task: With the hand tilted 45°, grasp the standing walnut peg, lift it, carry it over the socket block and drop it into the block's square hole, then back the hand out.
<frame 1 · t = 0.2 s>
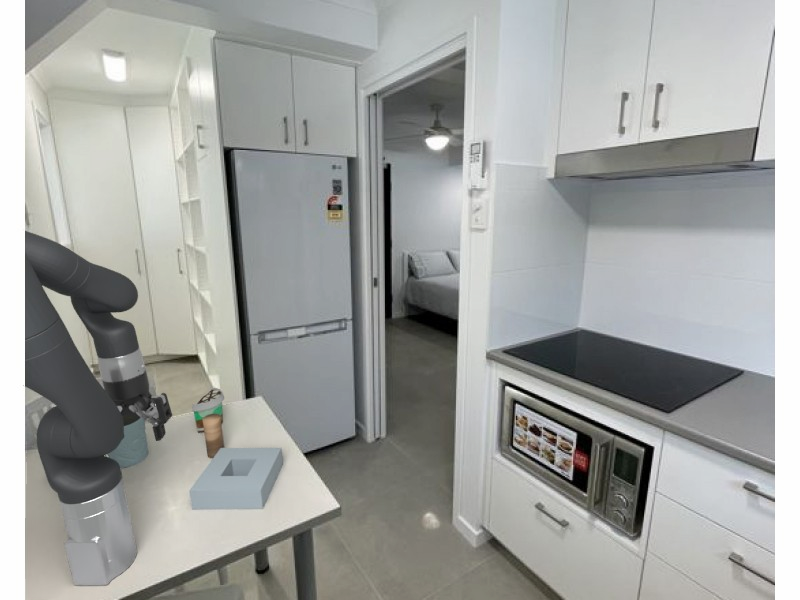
hand: (140, 439, 86), 18 cm above the table, tool pointing down, fingers open, 8 cm apart
peg: (216, 453, 111), on the table
teal plant pot: (129, 459, 109), on the table
socket block: (241, 485, 98), on the table
toothbrush head: (78, 493, 97), on the table
food container: (215, 425, 126), on the table
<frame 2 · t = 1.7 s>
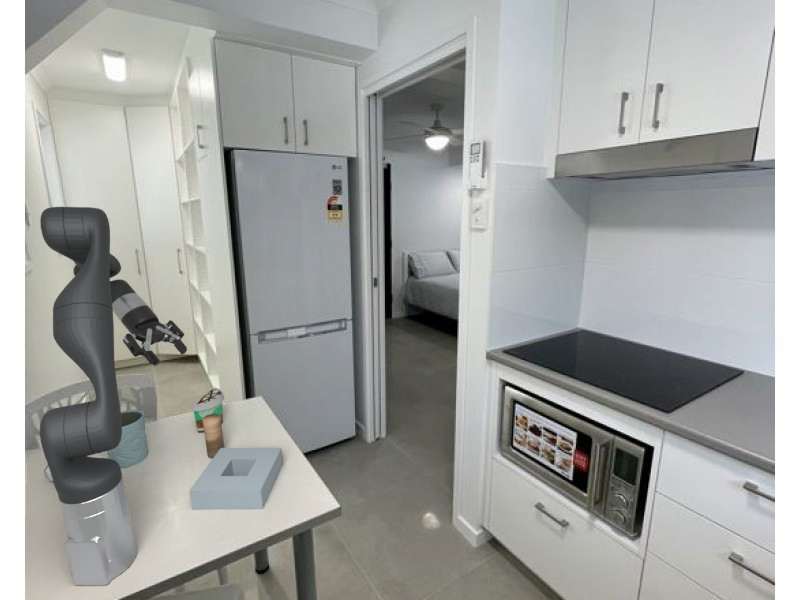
hand: (171, 357, 108), 27 cm above the table, tool tilted 45°, fingers open, 8 cm apart
nothing on the table moved.
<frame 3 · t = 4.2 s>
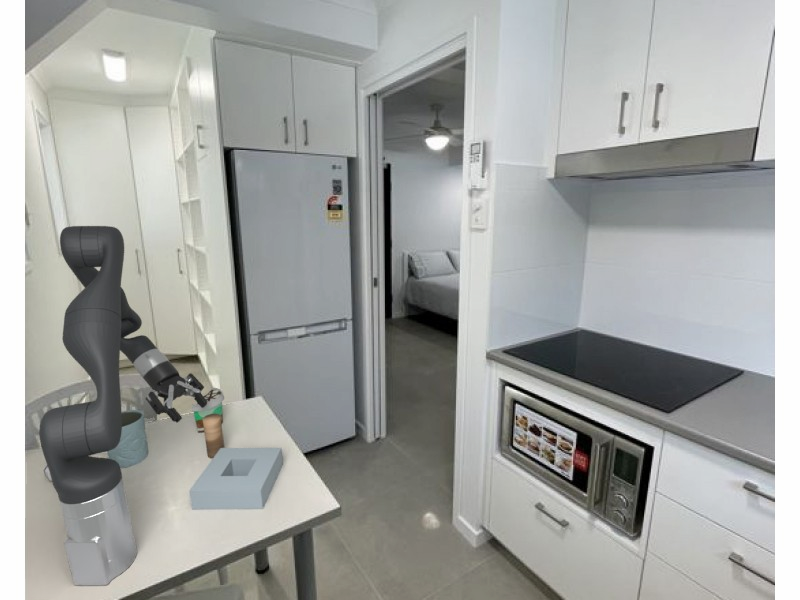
hand: (192, 412, 110), 11 cm above the table, tool tilted 45°, fingers open, 8 cm apart
nothing on the table moved.
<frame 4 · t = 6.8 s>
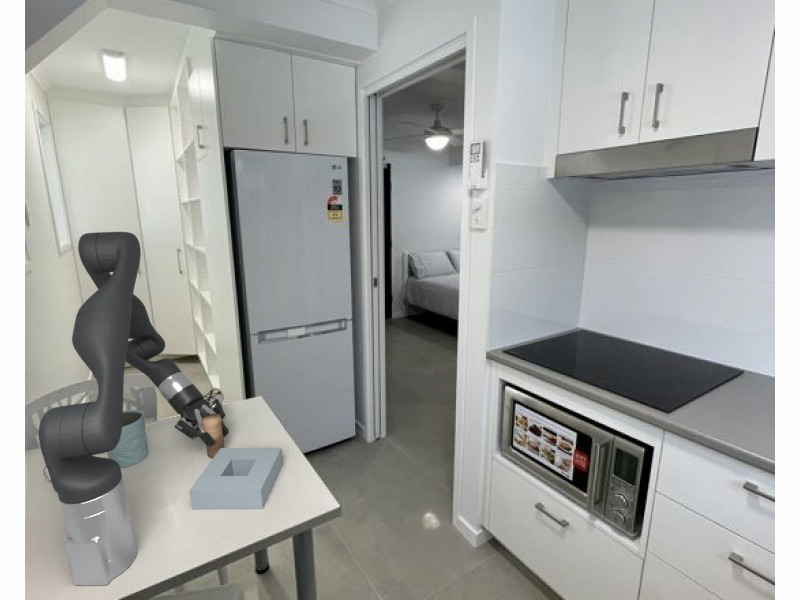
hand: (219, 439, 109), 5 cm above the table, tool tilted 45°, fingers closed on peg, 4 cm apart
peg: (216, 453, 111), on the table, touching gripper
everything else where it was.
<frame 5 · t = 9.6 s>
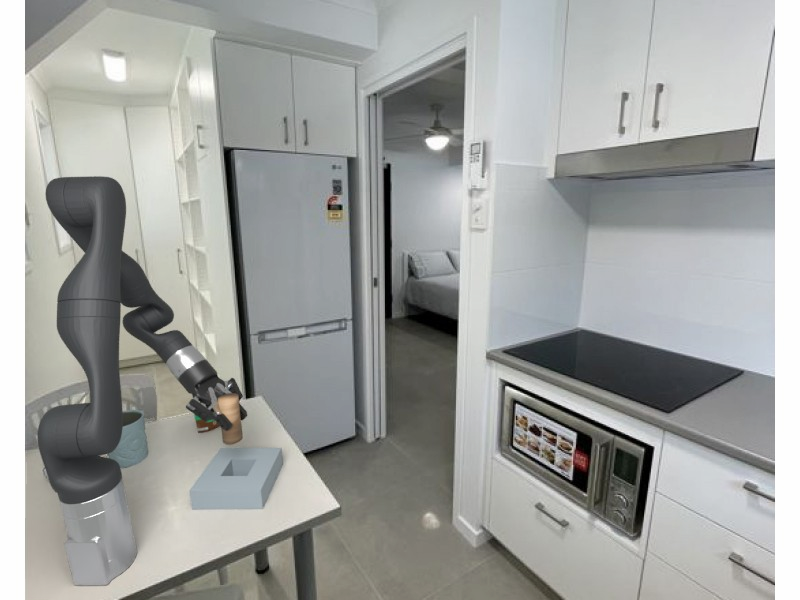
hand: (237, 422, 94), 17 cm above the table, tool tilted 45°, fingers closed on peg, 4 cm apart
peg: (232, 439, 96), point 12 cm above the table, touching gripper
everything else where it was.
when the fingers open (7 cm above the table, at t = 12.7 s): peg drops 2 cm, resting in socket block.
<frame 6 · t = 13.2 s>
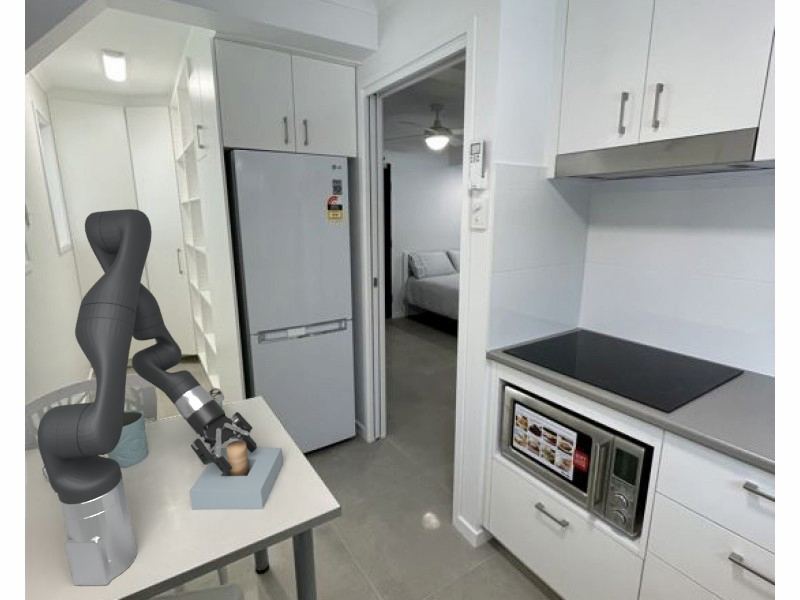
hand: (242, 460, 96), 7 cm above the table, tool tilted 45°, fingers open, 8 cm apart
peg: (240, 485, 98), resting in socket block
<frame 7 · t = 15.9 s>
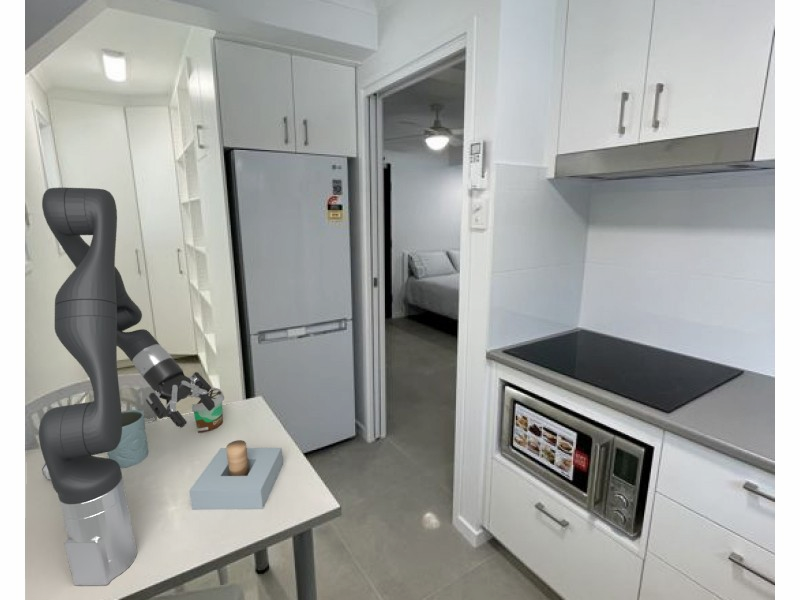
hand: (199, 416, 98), 17 cm above the table, tool tilted 45°, fingers open, 8 cm apart
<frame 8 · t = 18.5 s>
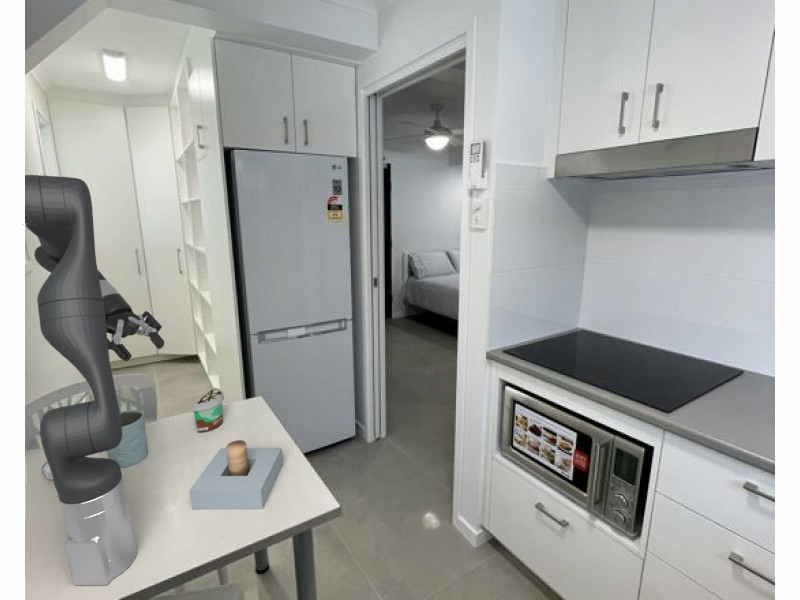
hand: (146, 352, 96), 33 cm above the table, tool tilted 45°, fingers open, 8 cm apart
at the end: peg 0.1 cm off-centre on the socket block, point 0.0 cm above the socket block's base; peg tilted 0°; the gripper is holding nothing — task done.
